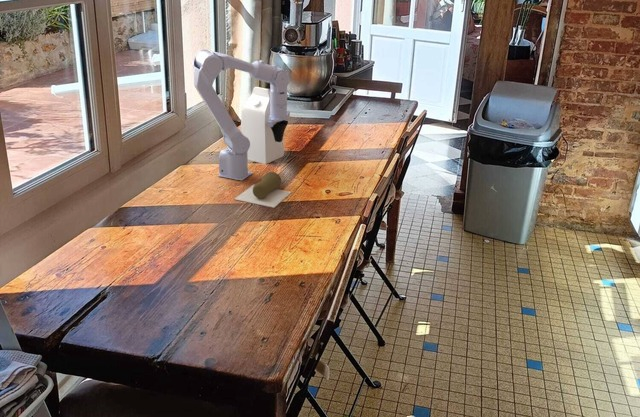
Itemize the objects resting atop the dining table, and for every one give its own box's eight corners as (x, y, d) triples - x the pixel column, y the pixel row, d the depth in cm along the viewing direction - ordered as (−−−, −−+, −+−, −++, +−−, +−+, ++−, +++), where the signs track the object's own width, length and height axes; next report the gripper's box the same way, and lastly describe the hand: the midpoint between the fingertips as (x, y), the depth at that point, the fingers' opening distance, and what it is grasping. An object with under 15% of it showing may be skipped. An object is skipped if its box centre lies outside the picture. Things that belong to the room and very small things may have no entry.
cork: (282, 189, 203) (268, 201, 194) (266, 188, 206) (251, 201, 196) (279, 171, 201) (265, 184, 192) (263, 171, 203) (248, 183, 194)
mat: (234, 199, 196) (234, 198, 195) (253, 185, 207) (253, 184, 206) (274, 207, 191) (274, 207, 191) (291, 192, 202) (291, 191, 202)
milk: (284, 155, 234) (284, 87, 223) (265, 164, 225) (265, 94, 214) (258, 149, 240) (258, 82, 229) (239, 157, 231) (238, 88, 220)
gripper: (280, 110, 203) (280, 149, 209) (297, 100, 216) (297, 137, 221) (261, 107, 206) (261, 146, 211) (279, 97, 218) (279, 134, 224)
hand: (278, 141), depth 217 cm, fingers closed
